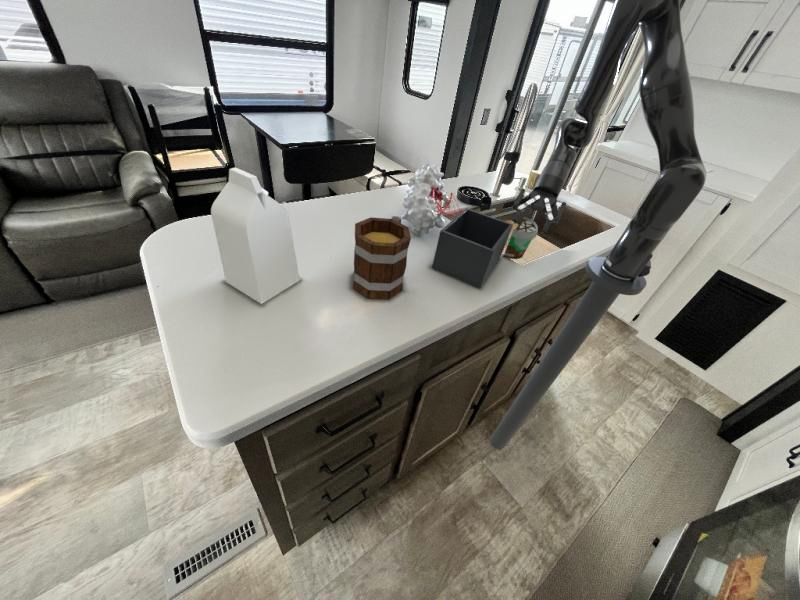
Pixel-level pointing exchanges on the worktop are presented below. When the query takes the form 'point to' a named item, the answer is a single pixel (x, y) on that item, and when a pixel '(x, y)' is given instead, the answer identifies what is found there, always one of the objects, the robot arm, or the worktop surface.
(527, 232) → the food container
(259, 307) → the worktop surface
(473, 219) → the bin
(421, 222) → the protein dna model
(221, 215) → the milk
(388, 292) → the mug
